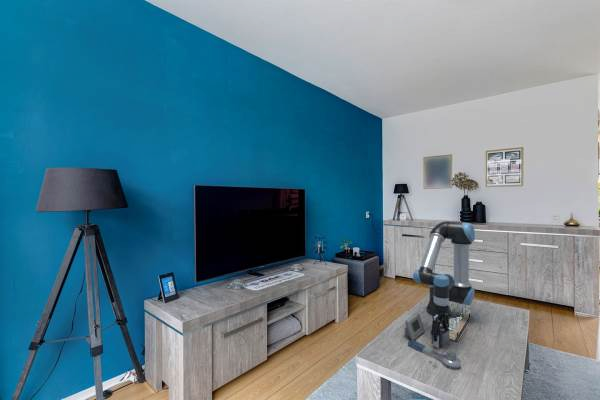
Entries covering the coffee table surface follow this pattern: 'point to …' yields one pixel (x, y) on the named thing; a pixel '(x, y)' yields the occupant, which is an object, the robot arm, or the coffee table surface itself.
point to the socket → (443, 337)
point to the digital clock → (414, 326)
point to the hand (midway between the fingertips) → (440, 343)
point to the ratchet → (438, 355)
